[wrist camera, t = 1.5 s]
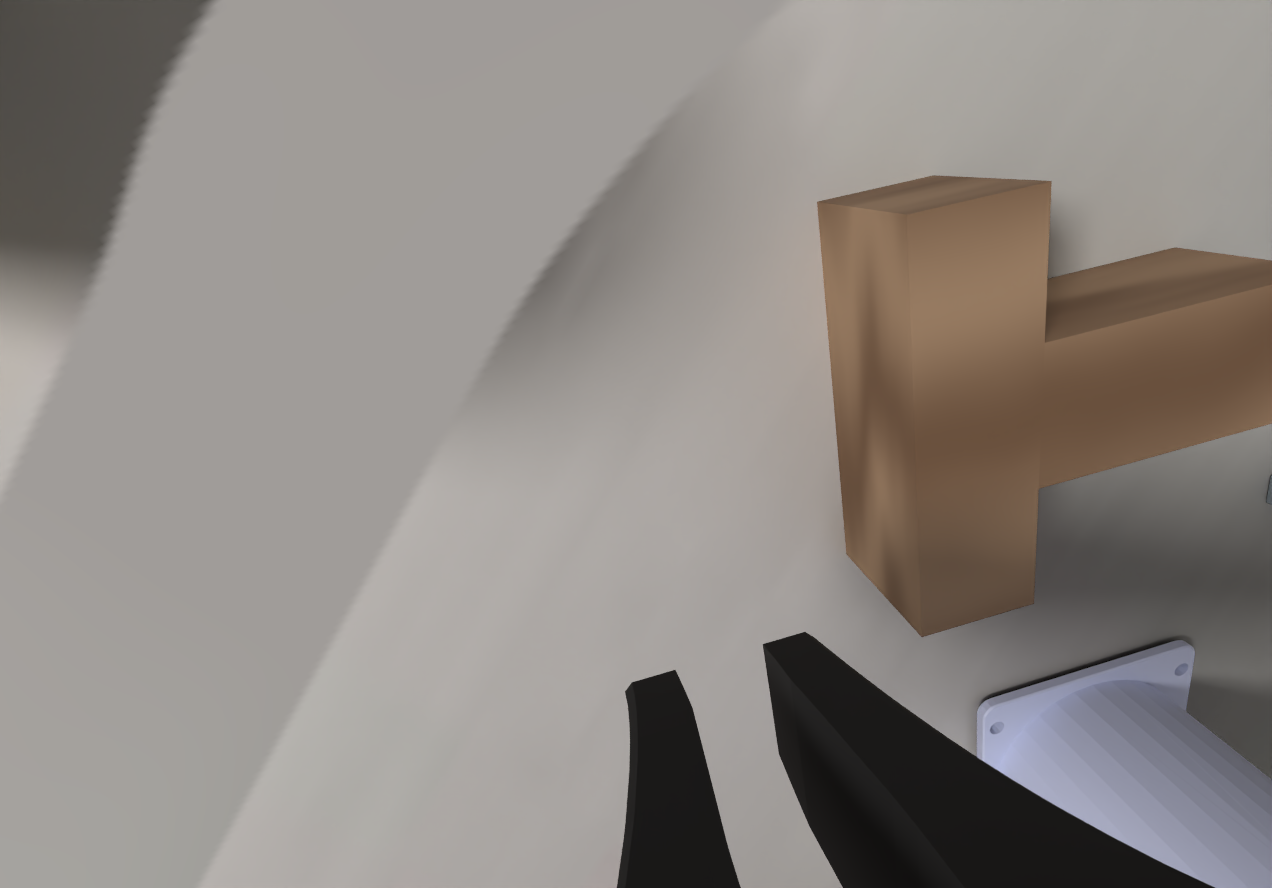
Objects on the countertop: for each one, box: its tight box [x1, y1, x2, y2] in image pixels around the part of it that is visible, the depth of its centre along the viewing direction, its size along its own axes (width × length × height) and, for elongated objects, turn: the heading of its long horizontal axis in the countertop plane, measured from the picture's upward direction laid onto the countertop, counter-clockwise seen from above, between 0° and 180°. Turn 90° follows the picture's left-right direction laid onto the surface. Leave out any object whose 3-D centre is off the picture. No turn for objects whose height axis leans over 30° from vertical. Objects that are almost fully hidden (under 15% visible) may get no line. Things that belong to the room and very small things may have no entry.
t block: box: [817, 176, 1272, 637], centre depth 18 cm, size 10×10×4 cm
